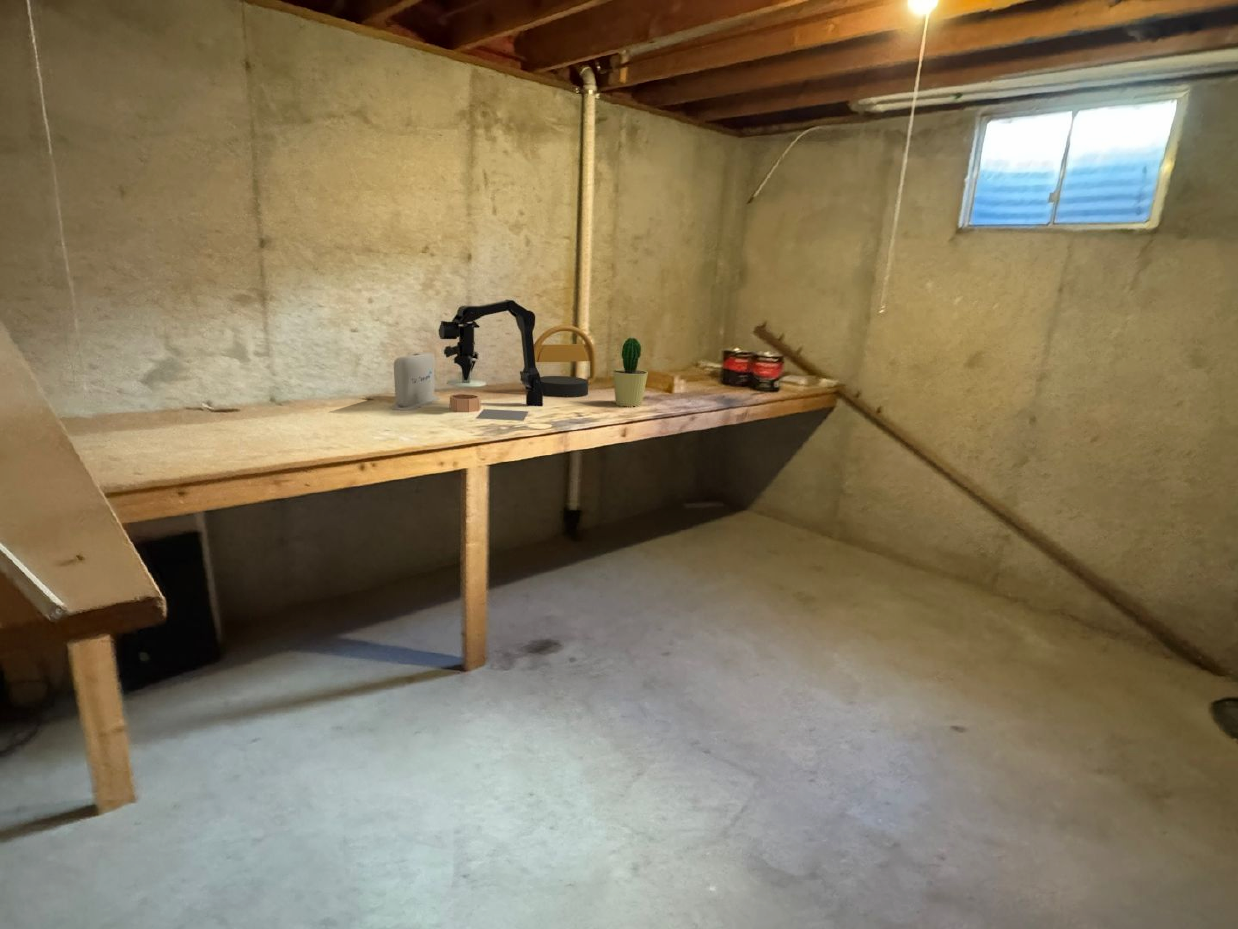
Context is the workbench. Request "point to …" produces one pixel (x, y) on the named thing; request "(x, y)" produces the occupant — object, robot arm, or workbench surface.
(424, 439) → the workbench surface
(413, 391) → the wireless router
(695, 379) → the workbench surface
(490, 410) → the mat
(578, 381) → the chair
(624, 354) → the potted cactus
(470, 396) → the bowl
